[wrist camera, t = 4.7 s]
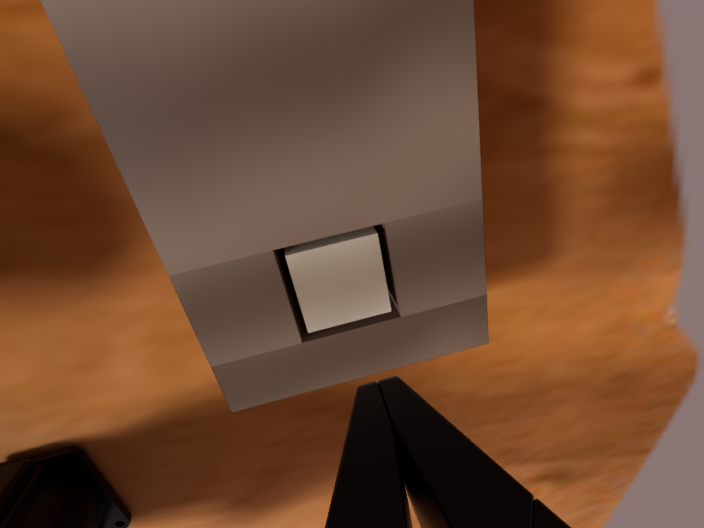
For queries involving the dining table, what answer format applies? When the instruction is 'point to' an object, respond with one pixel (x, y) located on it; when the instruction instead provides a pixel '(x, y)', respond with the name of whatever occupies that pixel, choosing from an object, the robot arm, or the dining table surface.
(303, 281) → the peg
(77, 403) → the dining table surface
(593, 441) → the dining table surface
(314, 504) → the dining table surface
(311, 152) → the grey peg board
